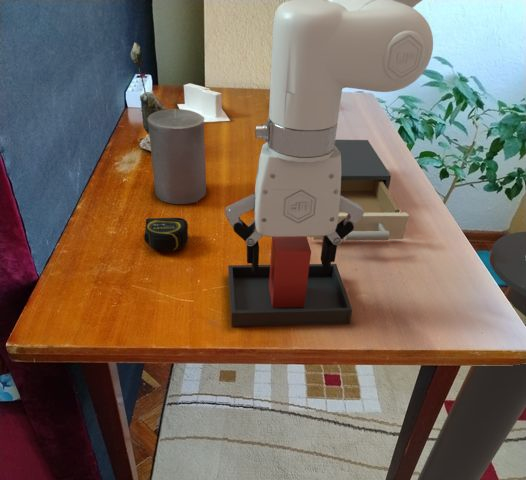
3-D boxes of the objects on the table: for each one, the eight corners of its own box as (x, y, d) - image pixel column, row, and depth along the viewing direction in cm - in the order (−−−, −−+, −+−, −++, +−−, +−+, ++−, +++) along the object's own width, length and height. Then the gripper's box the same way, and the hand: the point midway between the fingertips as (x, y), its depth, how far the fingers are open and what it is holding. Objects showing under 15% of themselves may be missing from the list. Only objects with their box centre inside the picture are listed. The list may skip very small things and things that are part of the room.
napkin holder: (176, 104, 131) (174, 80, 127) (217, 102, 134) (217, 79, 130) (186, 123, 121) (185, 98, 117) (231, 120, 124) (231, 96, 120)
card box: (299, 286, 72) (305, 231, 66) (304, 307, 68) (311, 251, 62) (268, 286, 71) (272, 231, 65) (272, 308, 68) (276, 251, 62)
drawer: (410, 252, 79) (417, 228, 76) (317, 253, 78) (320, 229, 75) (377, 194, 94) (382, 173, 91) (299, 194, 93) (301, 172, 90)
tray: (334, 276, 75) (336, 263, 73) (349, 323, 67) (352, 310, 65) (228, 278, 73) (228, 265, 72) (231, 327, 65) (231, 313, 64)
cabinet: (384, 207, 93) (391, 175, 88) (298, 207, 91) (301, 175, 87) (362, 168, 105) (367, 139, 101) (286, 168, 104) (288, 139, 100)
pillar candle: (151, 185, 95) (141, 102, 85) (200, 180, 98) (196, 99, 88) (161, 208, 89) (151, 121, 78) (213, 201, 91) (210, 117, 81)
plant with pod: (138, 159, 104) (124, 51, 90) (139, 139, 112) (126, 38, 98) (177, 158, 105) (168, 52, 91) (175, 138, 113) (166, 38, 100)
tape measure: (188, 234, 82) (187, 213, 80) (188, 256, 77) (186, 235, 75) (147, 234, 82) (144, 214, 79) (144, 256, 77) (141, 235, 74)
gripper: (225, 149, 51) (227, 283, 63) (386, 149, 53) (358, 281, 64) (223, 124, 56) (225, 252, 68) (368, 125, 58) (346, 250, 70)
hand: (289, 266), depth 66 cm, fingers open, 9 cm apart
